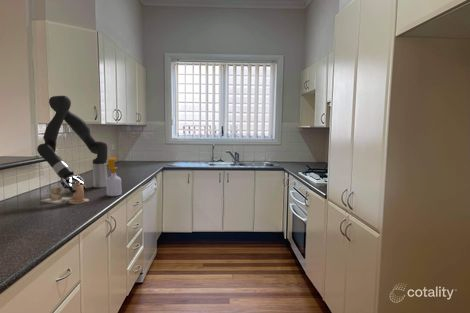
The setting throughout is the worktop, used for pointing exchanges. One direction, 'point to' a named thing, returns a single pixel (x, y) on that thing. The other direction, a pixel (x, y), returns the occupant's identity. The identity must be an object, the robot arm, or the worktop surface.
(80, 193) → the lidded jar
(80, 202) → the mat
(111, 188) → the soap bottle
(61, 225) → the worktop surface
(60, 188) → the white display stand
